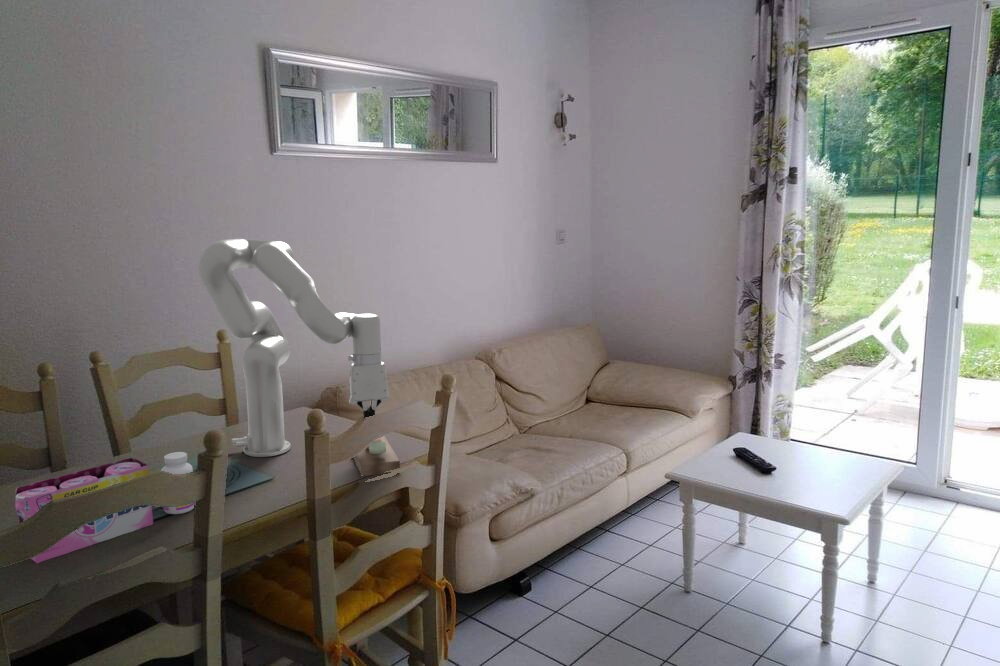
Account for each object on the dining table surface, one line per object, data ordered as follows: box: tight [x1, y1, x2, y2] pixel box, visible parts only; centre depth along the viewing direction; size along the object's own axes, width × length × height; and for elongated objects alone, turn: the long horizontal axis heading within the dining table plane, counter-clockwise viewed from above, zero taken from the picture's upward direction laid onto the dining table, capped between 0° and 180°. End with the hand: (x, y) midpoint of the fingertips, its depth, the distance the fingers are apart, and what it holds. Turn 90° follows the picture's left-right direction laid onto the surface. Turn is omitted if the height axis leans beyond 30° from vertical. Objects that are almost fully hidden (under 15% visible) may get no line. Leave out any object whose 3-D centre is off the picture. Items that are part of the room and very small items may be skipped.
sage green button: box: [369, 441, 386, 454], centre depth 184 cm, size 4×4×2 cm
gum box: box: [14, 457, 154, 564], centre depth 143 cm, size 24×8×14 cm, turn 142°
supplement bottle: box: [160, 451, 195, 515], centre depth 158 cm, size 7×7×13 cm
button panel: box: [353, 435, 401, 477], centre depth 191 cm, size 10×22×3 cm, turn 20°
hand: (369, 422), depth 196 cm, fingers closed
